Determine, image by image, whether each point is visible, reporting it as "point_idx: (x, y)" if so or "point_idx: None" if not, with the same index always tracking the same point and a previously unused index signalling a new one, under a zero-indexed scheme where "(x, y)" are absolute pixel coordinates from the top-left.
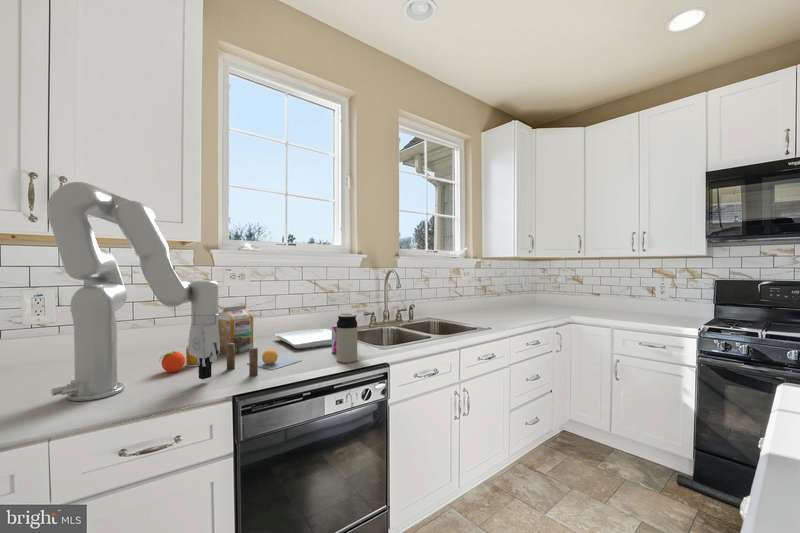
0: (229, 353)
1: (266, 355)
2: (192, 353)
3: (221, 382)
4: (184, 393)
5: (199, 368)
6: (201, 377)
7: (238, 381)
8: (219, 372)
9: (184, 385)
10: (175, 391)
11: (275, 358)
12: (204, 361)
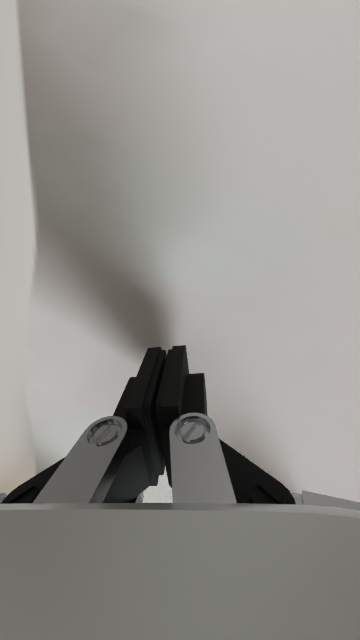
0: None
1: None
2: (251, 568)
3: (109, 407)
4: (50, 180)
5: (164, 392)
6: (147, 352)
7: (65, 453)
8: (291, 476)
9: (226, 254)
10: (141, 150)
11: None
12: (53, 475)
